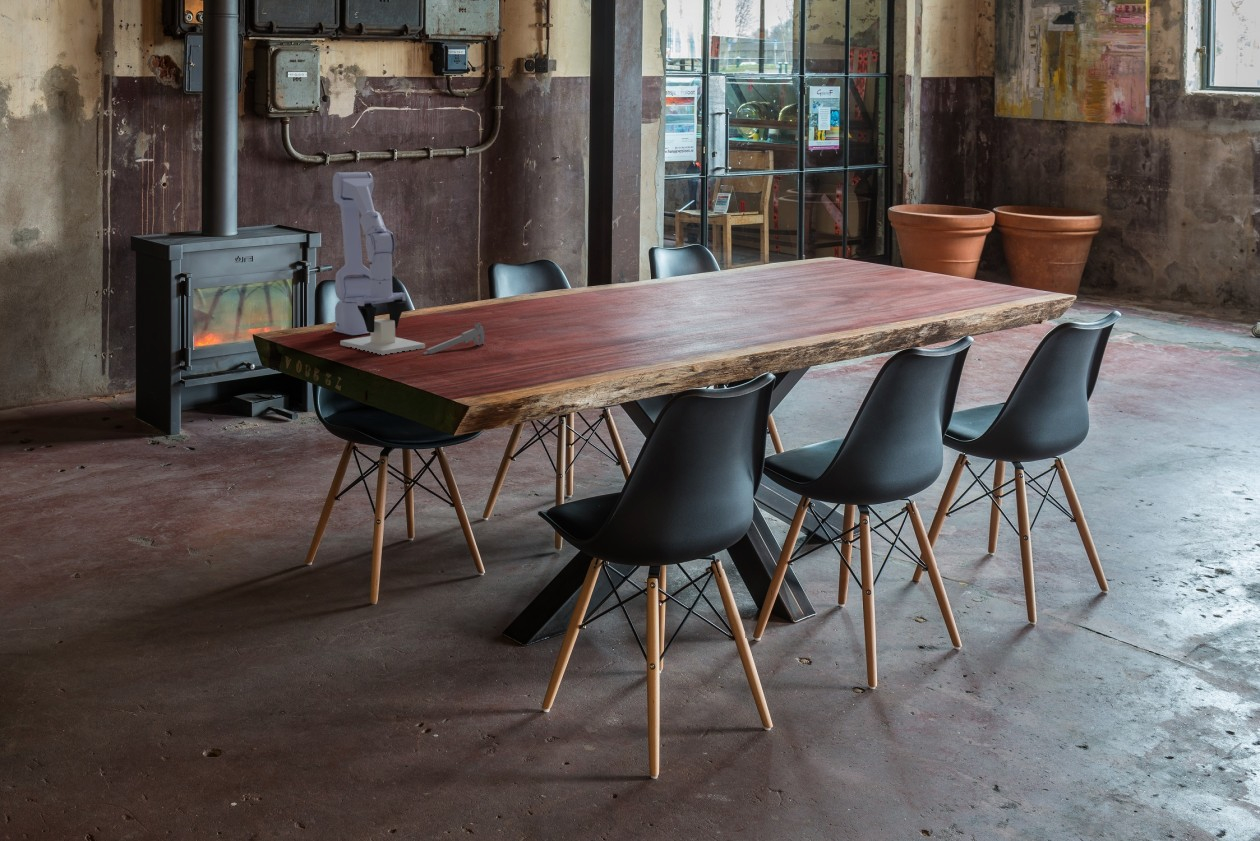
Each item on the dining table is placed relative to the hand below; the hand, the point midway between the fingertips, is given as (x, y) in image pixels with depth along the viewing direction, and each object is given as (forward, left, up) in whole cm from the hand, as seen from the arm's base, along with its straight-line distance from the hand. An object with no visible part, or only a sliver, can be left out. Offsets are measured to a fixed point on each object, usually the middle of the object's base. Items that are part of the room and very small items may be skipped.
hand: (382, 330), depth 368 cm
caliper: (+15, +12, -5) cm, 20 cm away
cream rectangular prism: (0, 0, -3) cm, 3 cm away
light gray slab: (0, 0, -4) cm, 4 cm away
